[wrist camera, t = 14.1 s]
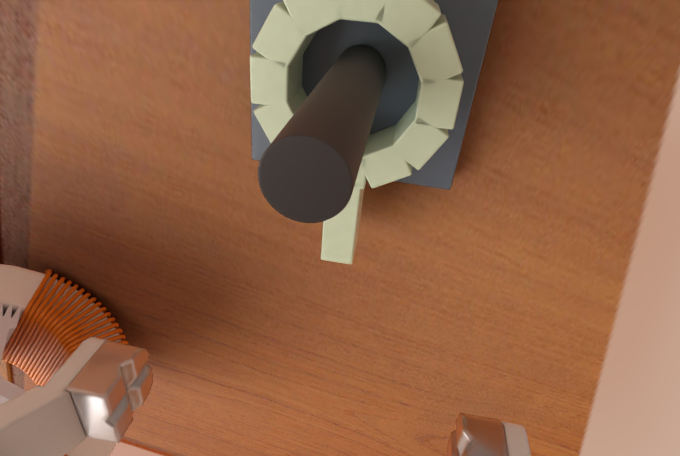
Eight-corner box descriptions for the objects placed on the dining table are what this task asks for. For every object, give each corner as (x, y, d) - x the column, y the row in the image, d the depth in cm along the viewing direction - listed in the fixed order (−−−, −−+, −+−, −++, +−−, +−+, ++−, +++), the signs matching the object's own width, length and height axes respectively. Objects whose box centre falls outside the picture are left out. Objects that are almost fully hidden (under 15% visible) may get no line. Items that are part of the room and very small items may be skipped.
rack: (506, -51, 16) (628, -52, 6) (449, 179, 21) (471, 370, 11) (258, -78, 17) (42, -115, 7) (259, 150, 21) (131, 307, 12)
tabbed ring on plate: (477, -21, 15) (486, -16, 13) (420, 245, 21) (420, 276, 19) (268, -42, 16) (246, -41, 14) (269, 222, 22) (254, 249, 20)
